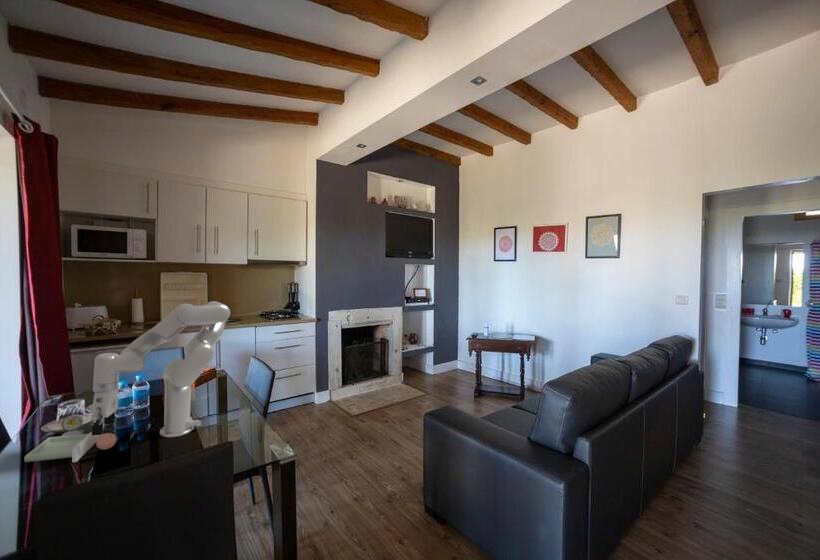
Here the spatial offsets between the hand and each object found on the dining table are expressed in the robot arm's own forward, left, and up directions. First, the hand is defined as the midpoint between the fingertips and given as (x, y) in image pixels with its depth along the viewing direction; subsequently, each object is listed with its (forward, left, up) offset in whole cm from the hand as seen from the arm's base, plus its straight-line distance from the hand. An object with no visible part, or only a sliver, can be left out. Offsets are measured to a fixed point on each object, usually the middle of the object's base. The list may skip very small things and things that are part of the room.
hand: (103, 428), depth 138 cm
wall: (+6, -2, -8) cm, 10 cm away
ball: (-1, 0, -5) cm, 5 cm away
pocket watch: (+17, -16, -9) cm, 25 cm away
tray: (+15, -3, -8) cm, 17 cm away
